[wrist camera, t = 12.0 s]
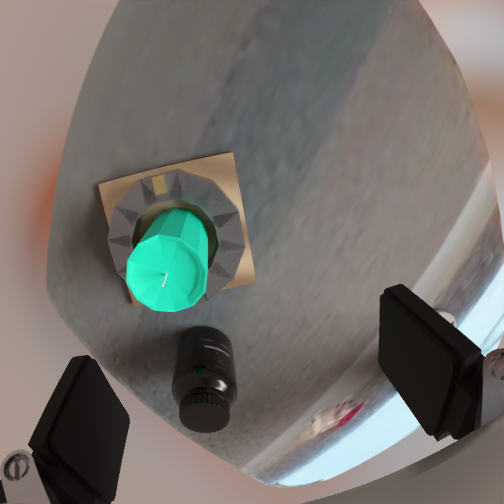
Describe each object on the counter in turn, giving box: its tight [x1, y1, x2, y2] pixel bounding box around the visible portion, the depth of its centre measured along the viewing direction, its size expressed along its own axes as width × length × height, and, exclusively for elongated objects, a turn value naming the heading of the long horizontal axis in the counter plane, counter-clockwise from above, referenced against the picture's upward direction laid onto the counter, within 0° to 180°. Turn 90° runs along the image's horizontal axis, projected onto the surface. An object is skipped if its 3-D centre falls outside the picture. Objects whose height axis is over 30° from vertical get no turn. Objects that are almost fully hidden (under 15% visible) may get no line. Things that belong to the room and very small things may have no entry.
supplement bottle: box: [172, 327, 237, 433], centre depth 31 cm, size 7×7×12 cm
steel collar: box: [107, 169, 246, 303], centre depth 29 cm, size 13×13×4 cm
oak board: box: [98, 152, 256, 307], centre depth 31 cm, size 14×14×1 cm
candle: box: [126, 207, 208, 312], centre depth 25 cm, size 6×6×12 cm
